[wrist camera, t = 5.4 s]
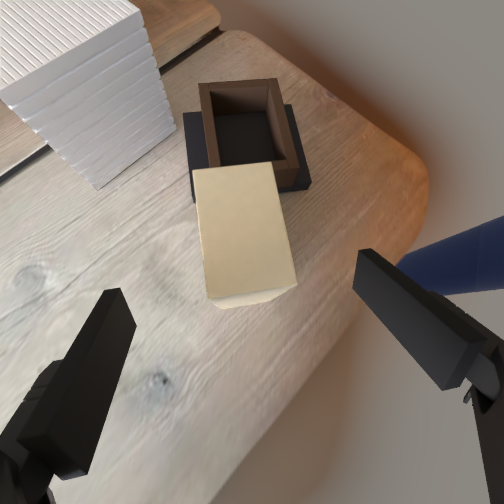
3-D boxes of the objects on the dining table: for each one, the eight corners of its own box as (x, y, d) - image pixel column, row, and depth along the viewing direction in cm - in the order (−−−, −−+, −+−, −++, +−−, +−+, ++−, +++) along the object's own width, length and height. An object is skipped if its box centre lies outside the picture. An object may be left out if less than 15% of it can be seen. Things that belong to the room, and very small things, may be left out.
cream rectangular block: (255, 231, 24) (271, 160, 13) (268, 301, 22) (298, 284, 12) (211, 237, 23) (191, 169, 13) (221, 310, 22) (207, 299, 11)
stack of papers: (177, 129, 27) (139, 8, 16) (97, 191, 24) (-7, 92, 14) (5, -15, 31) (-110, -182, 21) (-78, 23, 29) (-256, -146, 18)
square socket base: (288, 113, 28) (297, 76, 24) (308, 191, 26) (322, 165, 21) (185, 122, 27) (175, 84, 23) (194, 205, 24) (185, 180, 20)
